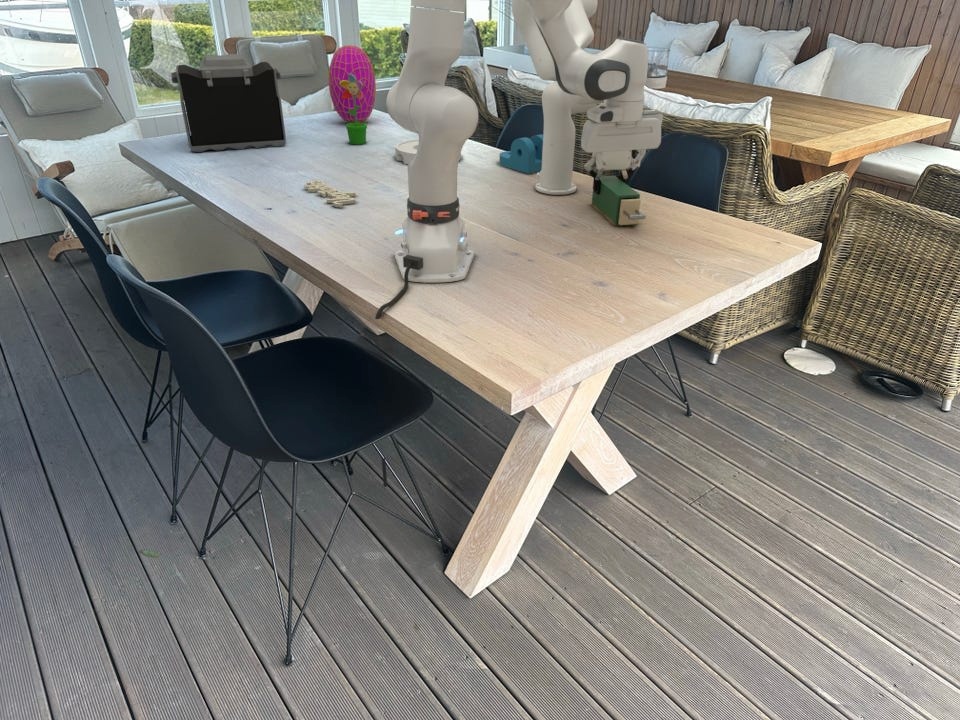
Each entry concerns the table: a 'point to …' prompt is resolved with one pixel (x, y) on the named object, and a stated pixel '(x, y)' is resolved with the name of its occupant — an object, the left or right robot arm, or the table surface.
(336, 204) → the decorative sign
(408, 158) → the ashtray
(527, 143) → the camera mount
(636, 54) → the left robot arm
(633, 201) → the drawer
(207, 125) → the electronic device
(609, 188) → the cabinet
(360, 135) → the potted flower
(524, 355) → the table surface
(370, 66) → the decorative egg
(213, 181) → the table surface
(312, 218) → the table surface
